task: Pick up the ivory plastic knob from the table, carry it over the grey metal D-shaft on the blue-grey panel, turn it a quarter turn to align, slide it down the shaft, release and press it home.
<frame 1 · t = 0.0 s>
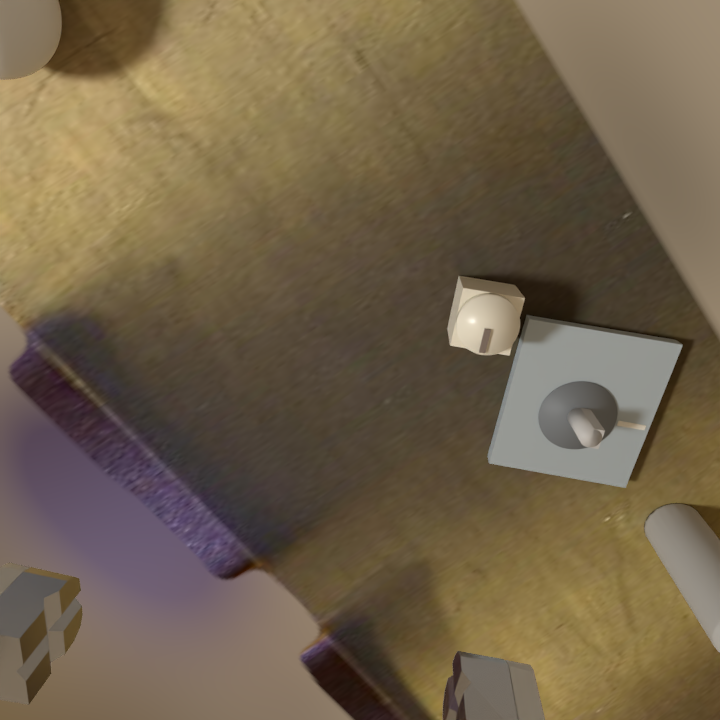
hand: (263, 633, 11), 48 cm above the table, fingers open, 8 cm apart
bottle: (671, 524, 64), on the table
knob: (480, 307, 57), on the table
decorative ball: (31, 18, 51), on the table
panel: (575, 401, 60), on the table
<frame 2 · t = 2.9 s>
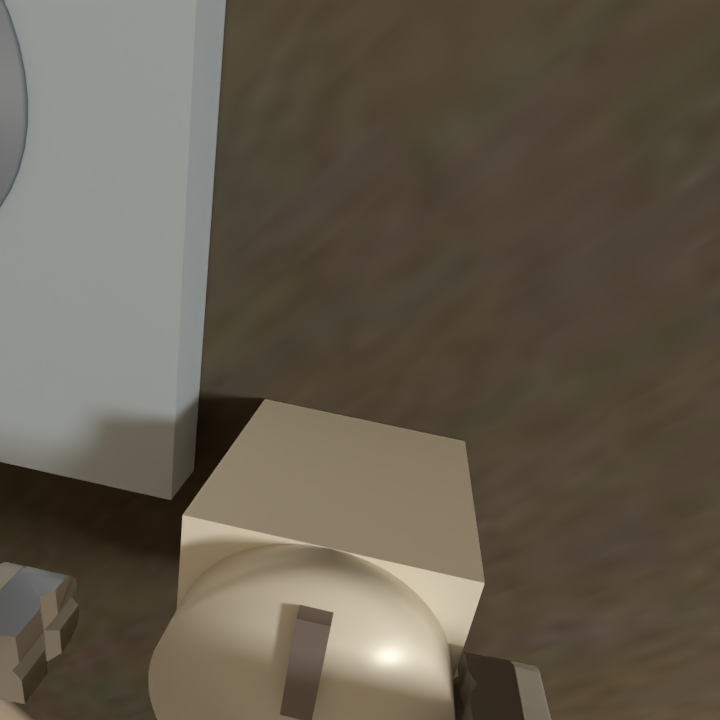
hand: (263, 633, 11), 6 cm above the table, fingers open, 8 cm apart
knob: (347, 503, 16), on the table, touching gripper
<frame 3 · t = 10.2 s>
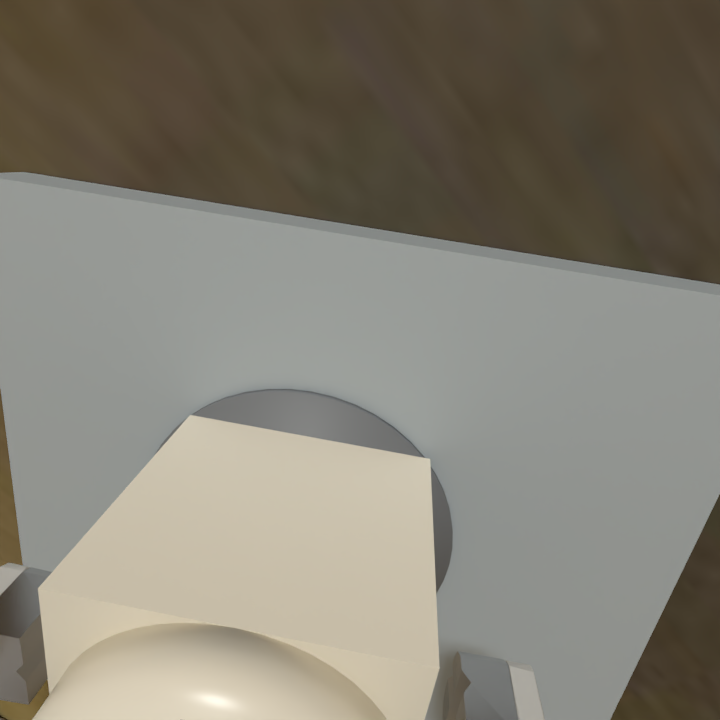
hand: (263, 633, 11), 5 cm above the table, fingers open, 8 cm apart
knob: (296, 533, 14), point 2 cm above the table, touching panel
panel: (339, 500, 16), on the table
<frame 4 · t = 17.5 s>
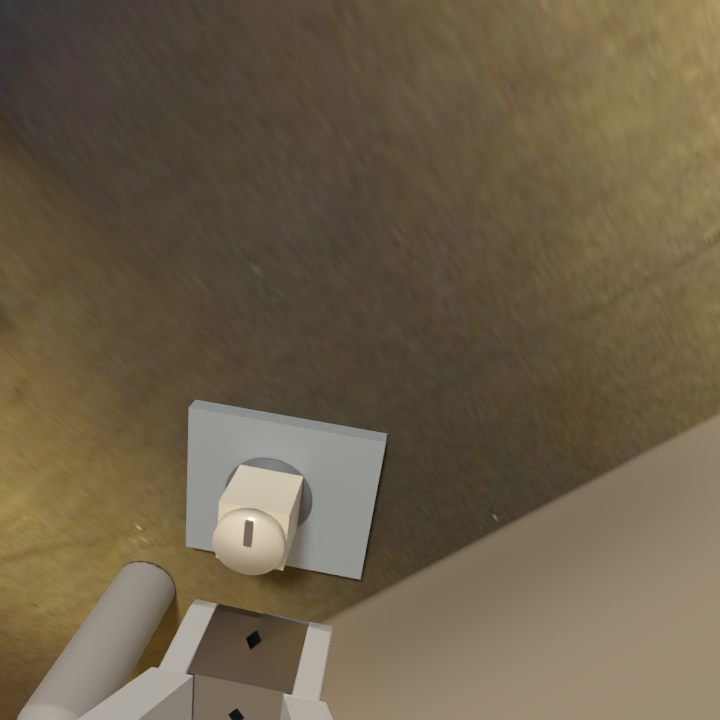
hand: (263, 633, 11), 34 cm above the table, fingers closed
bottle: (147, 583, 58), on the table
knob: (269, 496, 50), point 2 cm above the table, touching panel
panel: (283, 488, 51), on the table
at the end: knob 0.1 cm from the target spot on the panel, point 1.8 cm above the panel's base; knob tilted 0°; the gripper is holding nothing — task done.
